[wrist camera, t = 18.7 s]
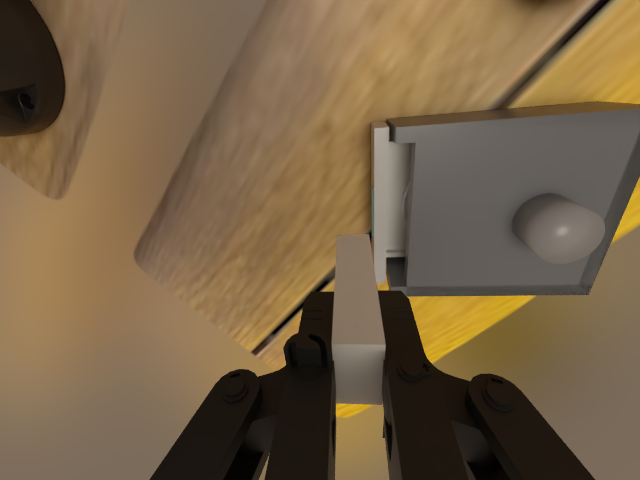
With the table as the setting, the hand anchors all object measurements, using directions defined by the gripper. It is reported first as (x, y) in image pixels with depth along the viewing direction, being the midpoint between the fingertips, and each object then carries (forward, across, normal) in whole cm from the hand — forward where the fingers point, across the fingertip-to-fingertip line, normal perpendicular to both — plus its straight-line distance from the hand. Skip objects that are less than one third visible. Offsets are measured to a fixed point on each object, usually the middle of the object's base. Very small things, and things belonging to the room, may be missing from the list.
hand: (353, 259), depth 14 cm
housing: (+18, +13, -4) cm, 22 cm away
